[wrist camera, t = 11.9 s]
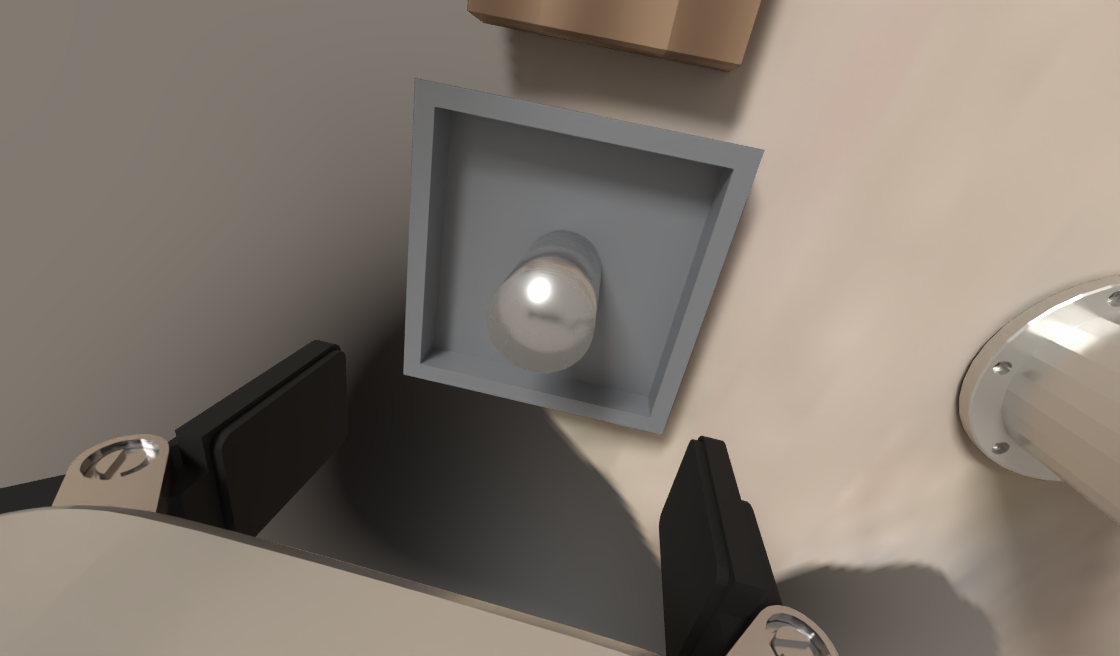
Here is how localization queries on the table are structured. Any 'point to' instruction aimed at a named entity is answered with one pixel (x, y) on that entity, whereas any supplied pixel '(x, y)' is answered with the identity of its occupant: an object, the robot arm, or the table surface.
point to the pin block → (636, 25)
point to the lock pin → (548, 304)
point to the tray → (573, 205)
